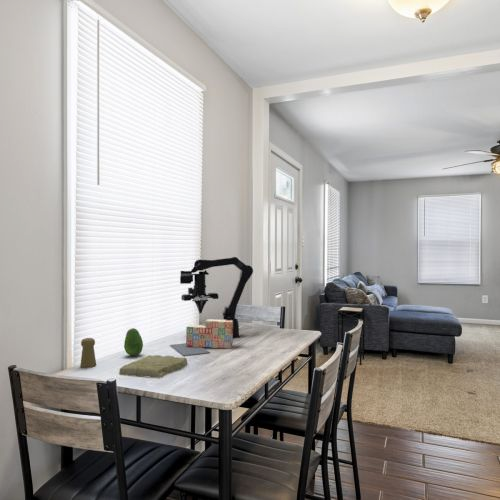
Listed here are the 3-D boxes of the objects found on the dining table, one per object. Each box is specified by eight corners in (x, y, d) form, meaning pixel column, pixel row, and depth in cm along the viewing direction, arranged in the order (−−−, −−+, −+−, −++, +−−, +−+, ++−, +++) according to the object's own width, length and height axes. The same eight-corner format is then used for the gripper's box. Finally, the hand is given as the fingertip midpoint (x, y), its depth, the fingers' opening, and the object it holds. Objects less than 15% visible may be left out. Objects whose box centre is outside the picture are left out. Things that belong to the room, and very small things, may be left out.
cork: (86, 368, 159) (86, 340, 159) (76, 366, 163) (76, 339, 163) (99, 365, 164) (99, 337, 165) (90, 363, 168) (89, 336, 168)
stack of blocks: (185, 346, 192) (186, 320, 192) (188, 344, 198) (189, 318, 198) (230, 348, 190) (231, 321, 190) (232, 345, 196) (233, 319, 196)
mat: (193, 343, 203) (193, 342, 203) (209, 353, 182) (209, 352, 182) (169, 345, 197) (169, 344, 197) (183, 356, 177) (183, 355, 177)
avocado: (126, 354, 182) (126, 327, 183) (144, 353, 183) (144, 326, 183) (122, 358, 175) (122, 330, 175) (141, 357, 175) (140, 329, 175)
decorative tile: (118, 375, 152) (118, 365, 152) (149, 361, 171) (149, 353, 171) (162, 380, 145) (162, 370, 145) (189, 365, 164) (189, 356, 164)
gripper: (211, 281, 227) (211, 310, 226) (178, 283, 219) (178, 312, 218) (218, 283, 217) (219, 312, 216) (184, 284, 209) (184, 315, 208)
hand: (200, 313), depth 215 cm, fingers closed
